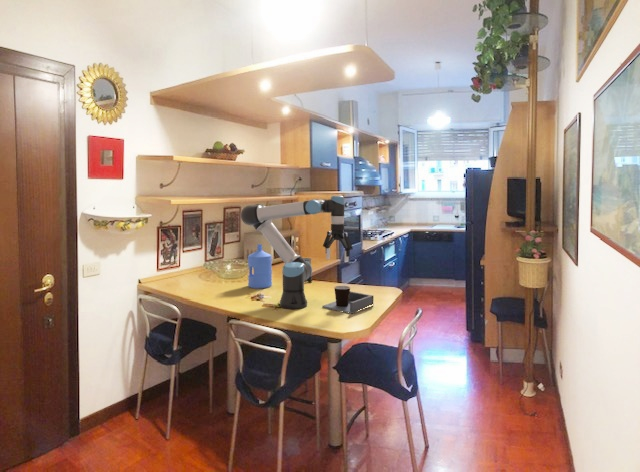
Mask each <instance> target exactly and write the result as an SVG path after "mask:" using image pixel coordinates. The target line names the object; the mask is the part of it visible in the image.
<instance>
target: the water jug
mask: <svg viewBox="0 0 640 472" xmlns="http://www.w3.org/2000/svg"><path fill="white" fill-rule="evenodd" d="M262 246H263V244H257V246H256V247H257V249H256V251H254V252H251V254H249V255H248V256H247V266H248V270H249V271H248V276H247V277H248V284H247V285H248V288H250V289H256V290H257V289H259V290H260V289H267V288H271V287H272V285H273V282H272V274H273V270H272V269H273V268H272V262H273V261H272V254H270V253H269V252H265V251H264V250H263V247H262Z"/></svg>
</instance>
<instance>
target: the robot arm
mask: <svg viewBox="0 0 640 472" xmlns="http://www.w3.org/2000/svg"><path fill="white" fill-rule="evenodd" d="M325 213H327V214H329V213H330V223H331V224H330V230H328V231H327V232H326V236H325V239H324V242H323V244H322V247H323V248H324V249H325V254H326V255H325V257H326V260H327V261H328V260H331V250H332V249H331V246H332V244H333V242H334V241H339V242H341V245H342V246H343V248H344V249H345V250H344V261H343V262H344V263H349V262H350V261H349V260H350V259H349V257H350V256H351V255H350V253H351V251H353V250H354V249H353V245H352V242H351V240H350V237H349V232H344V231H345V224H344V223H345V196H343V195H332V196H331V197H330V199H325V198H324V199H323V198H321V199H320V198H313V199H310V200H303V201H296V202H289V203H281V204H274V205H267V206H265V205H263V204H259V203H257V204H248V205H246V206H244V207H242V209H241V212H240V219H241V221H242V223H244V224H245V225H247V226H252V227H253V228H254V229H255V230H256V232H257V231H258V232H260V233H261V234H262V235H263V237H264V238H265V239H266V241H267V242H268V243H269V245H270V246H271V247H272V249H273V250H274V251H275V252H276V253H277V255H278V256H279V257H280V259H281V261H282V262H283V263H284V264H283V266H282V293H281V297H280V300H279V307H280V306H281V307H280V308H283V309H288V310H289V309H290V310H296V309H298V310H299V309H303V308H306V307H307V306H308V300H307V299H306V295H305V282H306V281H307V279H309V277H310V276H311V277H312V273H313V268H312V264H311V265H310V263H309V262H307V261H305V260H304V259H303V258H304V257H302V255H300V254H297V253H296V252H295V251H294V249H293V248H292V246H291V245H290V244H289V243H288V241H287V240H286V239H285V237H284V236H283V235H282V233H281V232H280V230H279V229H278V228H277V227H276V225H275V224H274V223H273V220H278V219H284V218H285V219H286V218H293V217H299V216H300V217H301V216H309V215H317V214H325Z"/></svg>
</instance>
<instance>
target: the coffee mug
mask: <svg viewBox="0 0 640 472" xmlns="http://www.w3.org/2000/svg"><path fill="white" fill-rule="evenodd" d="M333 289H334V294H335V301H336V306H338V307H347V306H348V302H349V294H350V291H351V287H350V286H349V285H336V286H334V288H333Z"/></svg>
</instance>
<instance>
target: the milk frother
mask: <svg viewBox="0 0 640 472" xmlns="http://www.w3.org/2000/svg"><path fill="white" fill-rule="evenodd" d="M302 258H303V259H304V260H305V261H307V262H309V263H310V265H311V266H312V258H309V257H302ZM306 281H308V282H309V283H311V282H313V279H312V275H311V276H310V277H309V279H307V280H306Z"/></svg>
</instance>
